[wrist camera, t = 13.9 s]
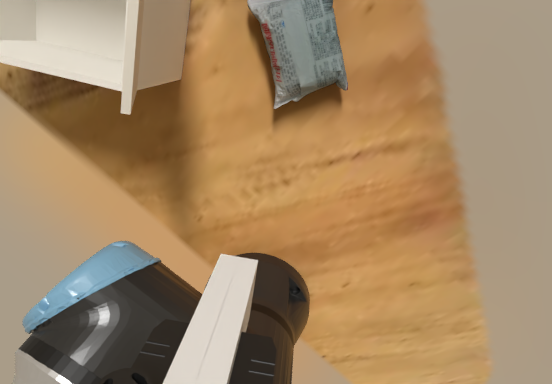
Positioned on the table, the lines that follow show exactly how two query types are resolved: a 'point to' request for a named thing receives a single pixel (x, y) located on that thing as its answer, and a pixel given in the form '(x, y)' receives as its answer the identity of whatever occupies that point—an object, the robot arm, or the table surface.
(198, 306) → the robot arm
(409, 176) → the table surface
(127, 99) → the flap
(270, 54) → the packaged food
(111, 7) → the carton
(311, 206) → the table surface
